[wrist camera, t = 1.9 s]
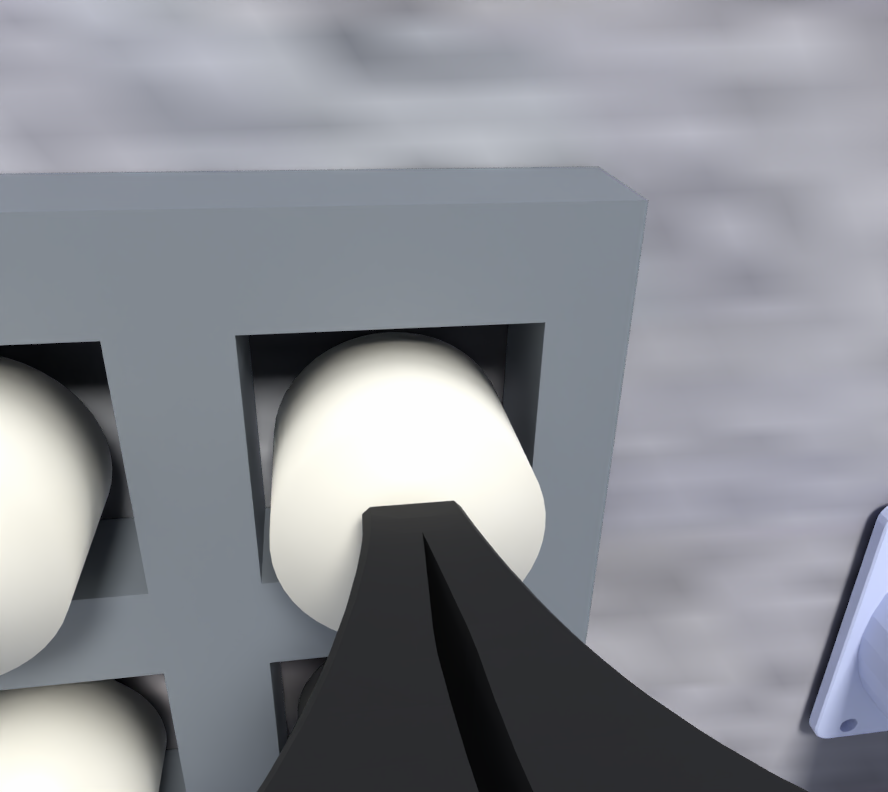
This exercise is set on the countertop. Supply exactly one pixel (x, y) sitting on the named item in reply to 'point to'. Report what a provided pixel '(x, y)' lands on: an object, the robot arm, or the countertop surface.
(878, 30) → the countertop surface
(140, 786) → the button
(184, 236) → the board
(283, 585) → the button
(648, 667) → the countertop surface
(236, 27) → the countertop surface
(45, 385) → the button
